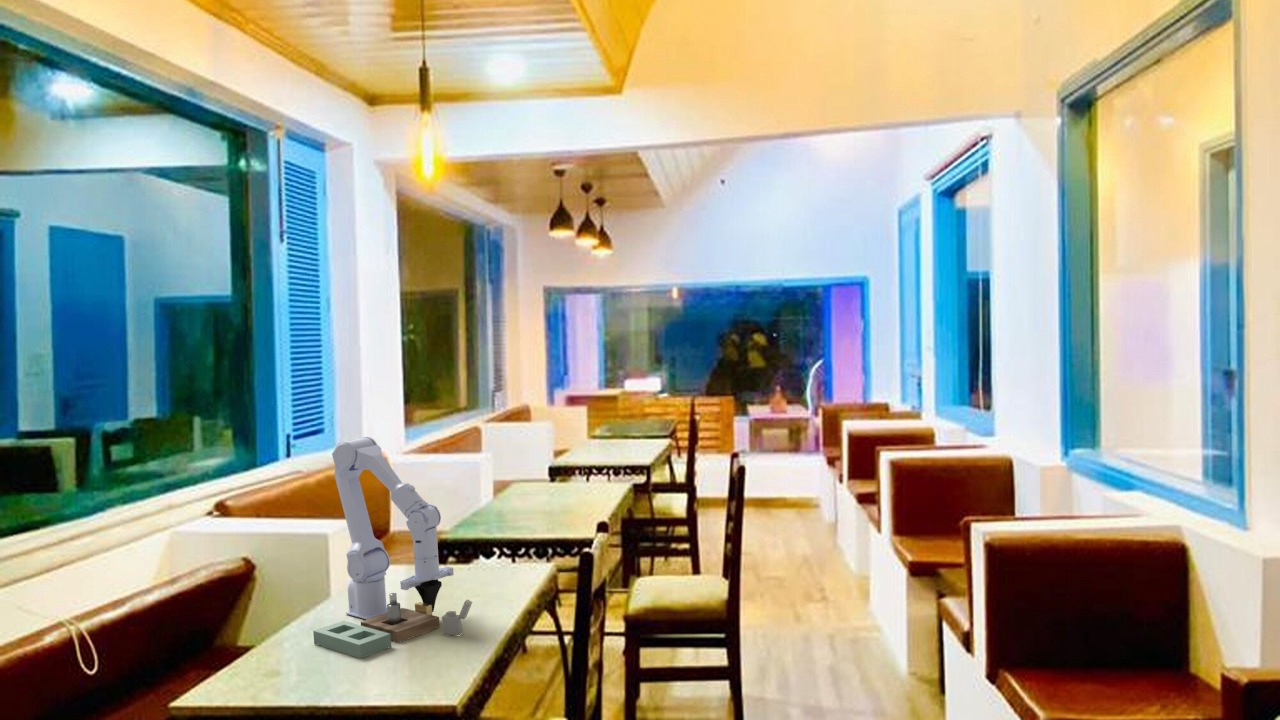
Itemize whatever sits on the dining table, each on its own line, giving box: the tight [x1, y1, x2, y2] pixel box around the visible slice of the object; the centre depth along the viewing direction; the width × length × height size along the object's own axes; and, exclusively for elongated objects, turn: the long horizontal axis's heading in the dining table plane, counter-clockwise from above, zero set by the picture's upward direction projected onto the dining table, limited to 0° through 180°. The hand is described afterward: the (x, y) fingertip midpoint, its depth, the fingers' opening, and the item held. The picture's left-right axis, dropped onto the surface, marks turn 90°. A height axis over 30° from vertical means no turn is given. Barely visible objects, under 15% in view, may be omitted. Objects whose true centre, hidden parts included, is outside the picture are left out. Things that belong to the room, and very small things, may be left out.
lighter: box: [441, 599, 473, 636], centre depth 212 cm, size 7×2×8 cm, turn 78°
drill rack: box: [312, 620, 392, 659], centre depth 208 cm, size 18×8×3 cm, turn 51°
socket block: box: [360, 607, 441, 643], centre depth 217 cm, size 14×12×2 cm
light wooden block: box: [414, 601, 433, 615], centre depth 221 cm, size 4×6×4 cm
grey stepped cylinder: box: [386, 592, 401, 626], centre depth 216 cm, size 3×3×9 cm
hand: (429, 611), depth 224 cm, fingers closed
